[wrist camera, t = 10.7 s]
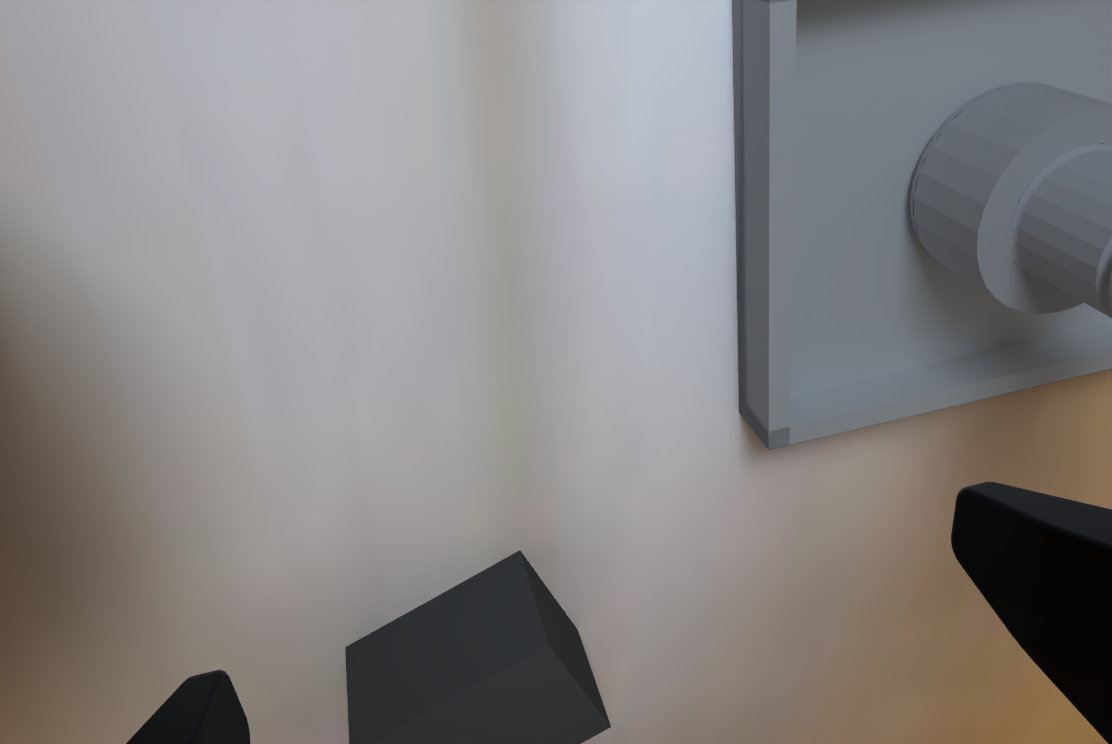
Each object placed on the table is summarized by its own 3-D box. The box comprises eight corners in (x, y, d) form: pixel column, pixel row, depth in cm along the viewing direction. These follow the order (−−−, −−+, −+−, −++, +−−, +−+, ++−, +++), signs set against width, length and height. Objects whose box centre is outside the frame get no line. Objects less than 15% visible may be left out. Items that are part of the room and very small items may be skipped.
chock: (414, 716, 30) (427, 826, 26) (345, 644, 28) (349, 754, 24) (576, 626, 29) (611, 726, 26) (519, 547, 27) (548, 645, 24)
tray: (739, 412, 27) (768, 450, 25) (731, -37, 21) (769, -28, 19) (1163, 314, 28) (1217, 343, 27) (1270, -122, 22) (1349, -120, 21)
